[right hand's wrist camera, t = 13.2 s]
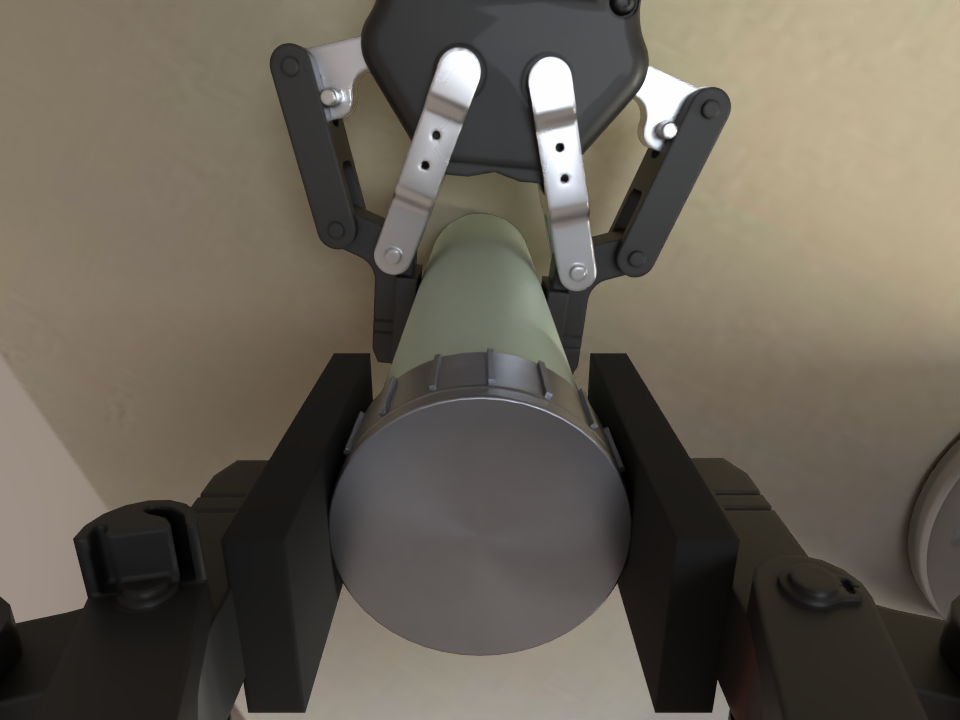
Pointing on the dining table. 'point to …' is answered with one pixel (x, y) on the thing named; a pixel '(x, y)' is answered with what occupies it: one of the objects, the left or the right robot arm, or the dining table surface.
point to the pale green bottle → (480, 300)
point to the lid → (480, 506)
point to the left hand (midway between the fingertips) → (474, 376)
